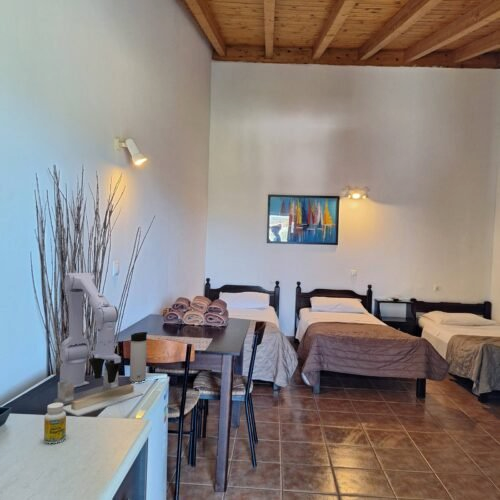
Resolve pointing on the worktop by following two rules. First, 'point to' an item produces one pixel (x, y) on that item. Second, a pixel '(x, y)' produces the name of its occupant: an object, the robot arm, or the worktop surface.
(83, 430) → the worktop surface
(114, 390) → the rail
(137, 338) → the travel mug
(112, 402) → the mat
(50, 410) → the supplement bottle
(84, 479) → the worktop surface
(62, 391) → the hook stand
